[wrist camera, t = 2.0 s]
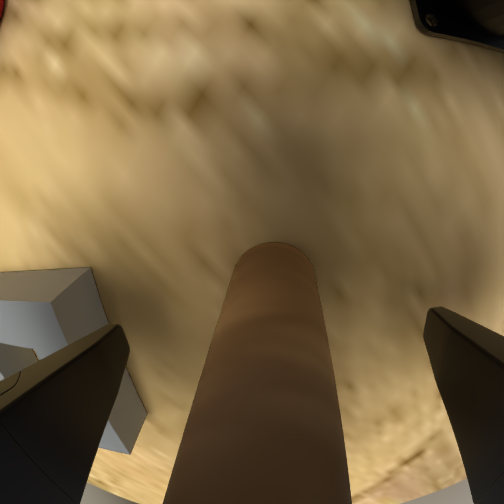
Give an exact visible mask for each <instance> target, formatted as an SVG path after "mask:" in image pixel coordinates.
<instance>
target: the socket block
mask: <svg viewBox="0 0 504 504" xmlns="http://www.w3.org/2000/svg"><path fill="white" fill-rule="evenodd" d="M107 324H109V323H108V320H107V317H106V314H105V312H104V309H103V306H102V303H101V300H100V297H99V294H98V291H97V287H96V284H95V281H94V278H93V274H92V271H91V268H90V267H87V268H70V269H52V270H35V271H17V272H0V381H1V380H3V379H5V378H7V377H9V376H11V375H13V374H14V373H16V372H18V371H20V370H21V371H22V369H24V368H26V367H28V366H30V365H31V364H33V363H35V362H37V361H38V359H37V357H36V355H35V353H34V351H33V349H34V350H35V352H36V354H37V356H38V358H39V359H40V360H41V359H43V358H45V357H47V356H48V355H50V354H52V353H54V352H56V351H58V350H60V349H62V348H64V347H65V346H67V345H69V344H71V343H73V342H75V341H77V340H79V339H81V338H82V337H84V336H86V335H88V334H90V333H92V332H94V331H96V330H98V329H99V328H101V327H103V326H105V325H107ZM146 416H147V412H146V410H145V408H144V406H143V404H142V402H141V400H140V398H139V396H138V393H137V391H136V389H135V387H134V385H133V382H132V380H131V378H130V376H129V373H128V371H127V369H126V367H125V371H124V374H123V378H122V382H121V385H120V389H119V392H118V395H117V398H116V401H115V403H114V406H113V409H112V411H111V414H110V417H109V419H108V422H107V425H106V427H105V430H104V433H103V436H102V438H101V441H100V444H99V448H103V449H107V450H111V451H115V452H120V453H125V454H129V455H130V454H131V452H132V449H133V447H134V444H135V442H136V440H137V437H138V435H139V432H140V430H141V428H142V425H143V423H144V420H145V418H146Z"/></svg>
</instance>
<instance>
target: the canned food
mask: <svg viewBox="0 0 504 504" xmlns="http://www.w3.org/2000/svg"><path fill="white" fill-rule="evenodd" d="M3 6H4V0H0V18H1V14H2V10H3Z"/></svg>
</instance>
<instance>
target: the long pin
mask: <svg viewBox="0 0 504 504" xmlns="http://www.w3.org/2000/svg"><path fill="white" fill-rule="evenodd" d="M163 504H352V501H351V492H350V483H349V474H348V466H347V458H346V450H345V443H344V436H343V429H342V422H341V415H340V408H339V402H338V396H337V390H336V384H335V378H334V372H333V366H332V360H331V355H330V349H329V344H328V338H327V333H326V328H325V323H324V317H323V312H322V307H321V302H320V298H319V293H318V288H317V283H316V279H315V274H314V270H313V267H312V265H311V263H310V261H309V260H308V258H307V257H306V256H305V255H304V254H303V253H302V252H301V251H299V250H298V249H296V248H295V247H293V246H290V245H288V244H284V243H277V242H270V243H263V244H260V245H257V246H255V247H253V248H251V249H249V250H248V251H247V252H245V253H244V254H243V255H242V256H241V258H240V259H239V260H238V262H237V264H236V266H235V269H234V272H233V275H232V278H231V281H230V284H229V287H228V291H227V294H226V297H225V300H224V303H223V306H222V310H221V313H220V316H219V319H218V322H217V326H216V329H215V332H214V335H213V339H212V342H211V345H210V348H209V351H208V355H207V358H206V361H205V364H204V368H203V371H202V374H201V377H200V381H199V384H198V387H197V391H196V394H195V397H194V400H193V404H192V407H191V410H190V414H189V417H188V420H187V424H186V427H185V430H184V433H183V437H182V440H181V444H180V447H179V450H178V454H177V457H176V460H175V464H174V467H173V470H172V474H171V477H170V481H169V484H168V487H167V491H166V494H165V498H164V501H163Z"/></svg>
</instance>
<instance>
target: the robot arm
mask: <svg viewBox="0 0 504 504" xmlns="http://www.w3.org/2000/svg"><path fill="white" fill-rule="evenodd" d="M410 1H411V5H412V10H413V14H414V19H415V22H416V25H417V26H418V28H419V29H420V30H421V31H422V32H424V33H425V34H428V35H431V36H437V37H442V38H448V39H452V40H457V41H462V42H466V43H470V44H474V45H478V46H482V47H486V48H489V49H493V50H496V51H500V52H503V53H504V0H410ZM426 17H428V18H430V19H431V20H432V22H433V26H431V25H429V24H428V23H427V21H426V19H425V18H426ZM423 337H424V342H425V345H426V348H427V352H428V355H429V359H430V363H431V366H432V370H433V374H434V377H435V381H436V384H437V387H438V389H439V392H440V395H441V397H442V400H443V403H444V405H445V408H446V411H447V414H448V417H449V420H450V423H451V426H452V429H453V432H454V435H455V438H456V441H457V444H458V447H459V451H460V454H461V457H462V461H463V464H464V468H465V471H466V475H467V479H468V483H469V486H470V490H471V495H472V499H473V503H474V504H504V336H502V335H500V334H498V333H496V332H494V331H492V330H490V329H488V328H486V327H484V326H482V325H480V324H477V323H475V322H473V321H471V320H469V319H467V318H465V317H463V316H461V315H459V314H457V313H455V312H453V311H451V310H448V309H446V308H444V307H441V306H440V307H433V308H430V309H429V310H428V313H427V318H426V323H425V327H424V333H423ZM129 352H130V348H129V344H128V341H127V339H126V336H125V333H124V330H123V328H122V326H121V325H119V324H107V325H105V326H103V327H101V328H99V329H98V330H96V331H94V332H92V333H90V334H88V335H86V336H84V337H82V338H81V339H79V340H77V341H75V342H73V343H71V344H69V345H67V346H65V347H64V348H62V349H60V350H58V351H56V352H54V353H52V354H50V355H48V356H47V357H45V358H43V359H41V360H39V361H37V362H35V363H33V364H31V365H30V366H28V367H26V368H24V369H22V371H21V370H20V371H18V372H16V373H14V374H13V375H11V376H9V377H7V378H5V379H3V380H1V381H0V504H80V502H81V499H82V496H83V492H84V489H85V486H86V483H87V480H88V477H89V474H90V471H91V467H92V464H93V462H94V459H95V456H96V453H97V450H98V447H99V444H100V441H101V438H102V436H103V433H104V430H105V427H106V425H107V422H108V419H109V417H110V414H111V411H112V409H113V406H114V403H115V401H116V398H117V395H118V392H119V389H120V385H121V382H122V378H123V374H124V371H125V367H126V364H127V360H128V357H129Z"/></svg>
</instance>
